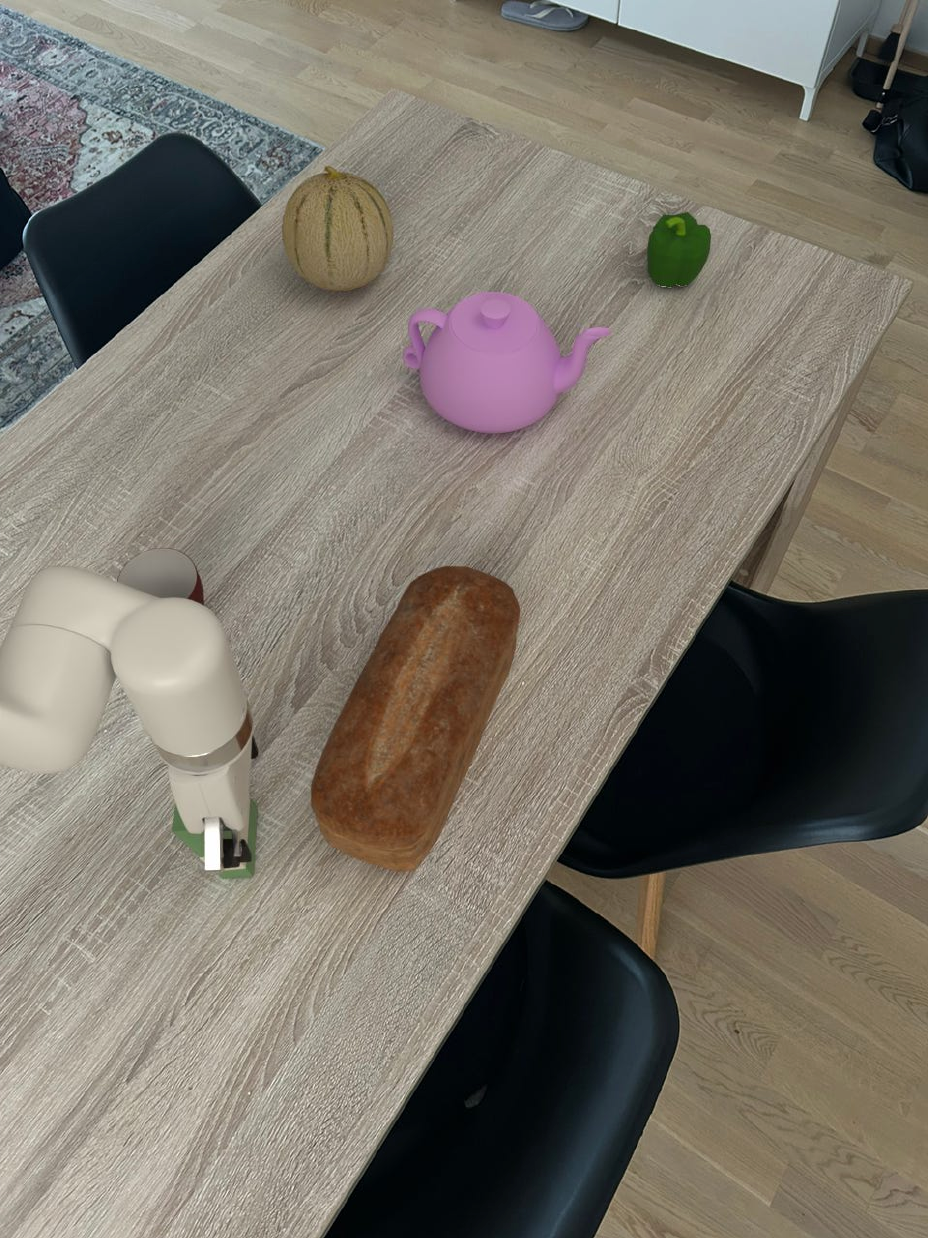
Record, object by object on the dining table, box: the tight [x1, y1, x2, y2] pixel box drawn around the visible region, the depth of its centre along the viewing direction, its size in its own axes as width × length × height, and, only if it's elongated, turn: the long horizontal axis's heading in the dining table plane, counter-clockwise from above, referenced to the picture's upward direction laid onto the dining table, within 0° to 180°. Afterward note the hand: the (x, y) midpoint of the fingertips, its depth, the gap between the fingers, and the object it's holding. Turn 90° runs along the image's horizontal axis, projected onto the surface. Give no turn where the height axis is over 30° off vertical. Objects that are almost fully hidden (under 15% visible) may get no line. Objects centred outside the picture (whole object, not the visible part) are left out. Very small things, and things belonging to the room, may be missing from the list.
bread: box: [310, 565, 521, 873], centre depth 100 cm, size 12×31×14 cm, turn 158°
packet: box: [171, 794, 259, 880], centre depth 94 cm, size 13×7×3 cm
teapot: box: [402, 291, 612, 435], centre depth 126 cm, size 25×18×14 cm
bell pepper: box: [646, 211, 712, 288], centre depth 139 cm, size 8×8×10 cm
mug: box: [116, 547, 205, 606], centre depth 108 cm, size 11×8×10 cm
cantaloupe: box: [281, 165, 394, 292], centre depth 136 cm, size 15×15×15 cm
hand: (237, 806), depth 92 cm, fingers open, 9 cm apart
